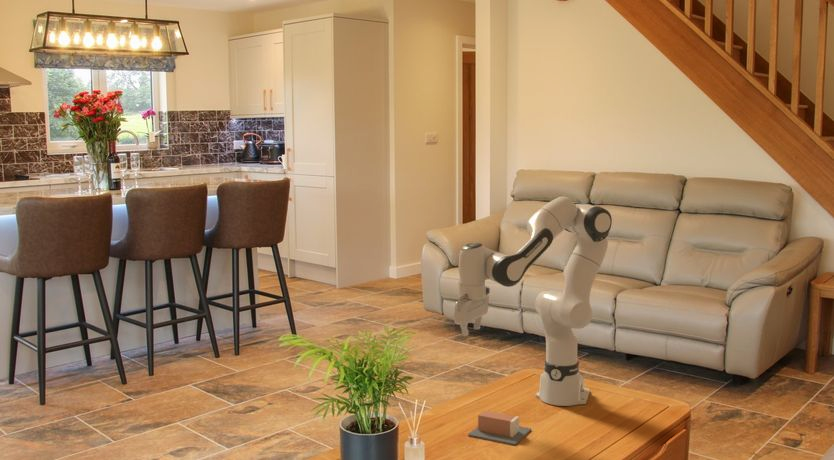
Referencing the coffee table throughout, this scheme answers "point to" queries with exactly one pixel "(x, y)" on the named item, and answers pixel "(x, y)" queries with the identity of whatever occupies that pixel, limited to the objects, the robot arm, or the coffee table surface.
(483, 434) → the slate mat
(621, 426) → the coffee table surface
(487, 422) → the tall block
